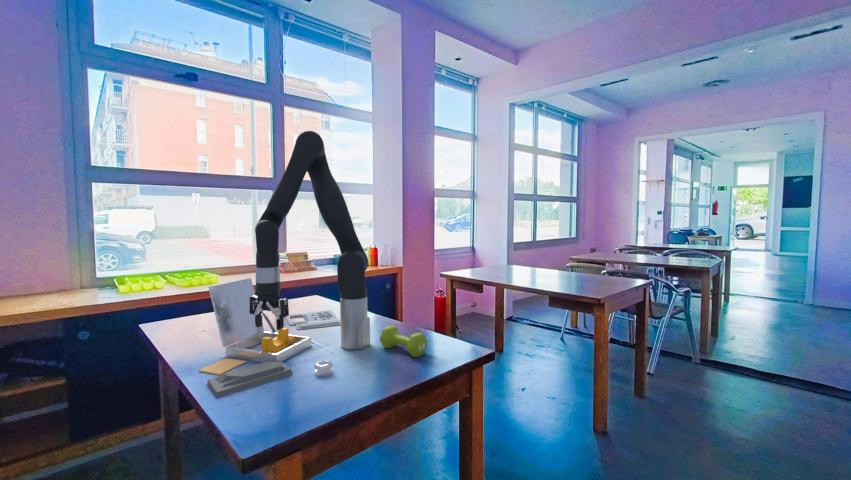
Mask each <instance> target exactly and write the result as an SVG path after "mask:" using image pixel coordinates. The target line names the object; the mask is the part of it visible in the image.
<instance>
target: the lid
mask: <svg viewBox="0 0 851 480" xmlns="http://www.w3.org/2000/svg"><path fill="white" fill-rule="evenodd" d="M207 288H208V291H209V294H210V295H209V296H210V299H211V303H212V308H213V312H214V316H215V320H216V324H217V328H218V332H219V336H220V340H221V344H222V347H223V348H226V347H228V346H230V345H233V344H235V343H238V342H240V341H243V340H245V339H248V338H250V337H252V336H255V335H257V334H260V333H262V332H265V328H264V324H263V323H262V326H261V327H256V325H255V316H254V315H253V314H250V313H249V308H250V297H252V296H255V295H256V291H255V289H254V284H253V280H252V277H248V278H244V279H239V280H235V281H230V282H225V283H222V284H217V285H213V286H209V287H207ZM253 310H254V307H253Z"/></svg>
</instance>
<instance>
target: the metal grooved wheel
mask: <svg viewBox="0 0 851 480" xmlns="http://www.w3.org/2000/svg"><path fill="white" fill-rule="evenodd" d="M333 370H334V369H333V362H332V361H330V360H320V361H318V362H316V363H315V364H314V375H315V376H317V377H328V376H330V375H331V374H332V373H333Z"/></svg>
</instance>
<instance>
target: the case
mask: <svg viewBox="0 0 851 480" xmlns="http://www.w3.org/2000/svg"><path fill="white" fill-rule="evenodd" d="M288 335H289V345H290V346H287V347H286V348H284V349H283V350H281V351H280V352H278V353H269V352H262V350H261V351H260V350H255V349H249V348H251V347H254V346H256V345H259V344H262V338H264V337H272V339H273V338H275V337H277V336H278V330H277V331H276V332H273V331H265V330H264V331H263V332H261V333H258V334H256V335H253V336H251V337H248V338H246V339H243V340H241V341H239V342H236V343H234V344H231V345H229V346H226V347H225V358H232V359H238V360H244V361H251V362H259V363H264V362H275V361H278V360H279V361H281V362H282V363H283V362H284V361H286V360H288V359H290V358H291V357H293V356H295V355H297V354H299V353H301V352H303V351H304V350H306V349H308V348H310V347H312V337H310V336H303V335H297V334H290V333H288Z"/></svg>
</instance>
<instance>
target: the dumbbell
mask: <svg viewBox="0 0 851 480" xmlns="http://www.w3.org/2000/svg"><path fill="white" fill-rule="evenodd" d="M379 336H380V337H379V341H380V343H381V346H382V347H383V348H385V349H392V348H393V347H396V346H397V345H401V346H403V347H406V349H407V351H408V353H409V355H410V356H411V357H414V358H418V356H419V357H421V356H423V355H424V354H425V352H426V350H427V347H428V340H427V337H426V336H425V333H422V332H416V333H415V332H414V333H413V334H412V335H410V337H408V336H405V335H402V334H400V332H399V330H398V328H397V326H395V325H393V324H392V325H388V326H385V327H383V328H382V331H381V333H380V335H379Z"/></svg>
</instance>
